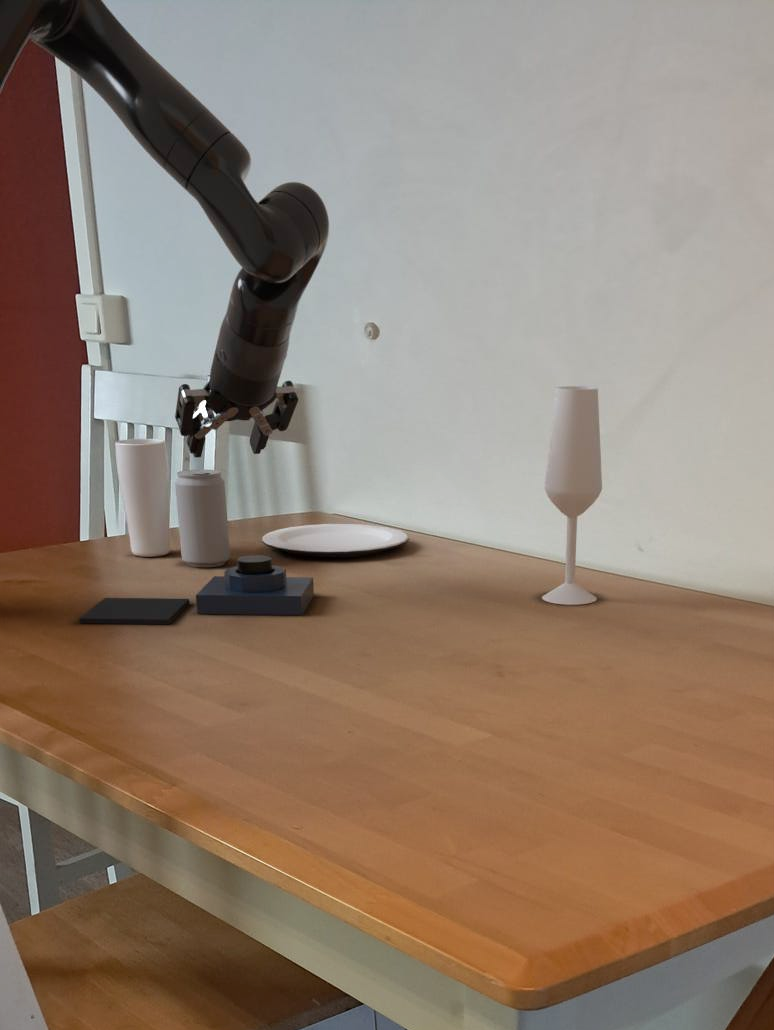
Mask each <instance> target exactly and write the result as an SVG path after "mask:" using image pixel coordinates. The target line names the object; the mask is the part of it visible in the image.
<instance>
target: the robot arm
mask: <svg viewBox="0 0 774 1030" xmlns="http://www.w3.org/2000/svg"><path fill="white" fill-rule="evenodd" d="M28 41H31V42H33V43H34V44H36V45H37V46H38V47H40V48H42V49H44V50H45V51H46V52H48V53H49V54H51V55H52V56H53V57H54V58H56V59H57V60H59V61H60V62H61V63H63V64H64V65H65V66H67V67H68V68H69V69H70V70H72V71H73V72H75V74H77V76H79V77H80V78H81V79H82V80H84V82H86V83H87V84H88V85H89V86H90V88H92V89H93V90H94V91H95V92H96V93H97V94H98V95H99V97H101V99H102V100H103V101H104V102H105V103H106V104H107V106H109V108H110V109H111V110H112V111H113V113H114V114H115V115H116V116H117V118H118V119H119V120H120V121H121V123H122V124H123V125H124V126H125V128H126V129H127V131H128V132H129V133H130V134H131V136H132V137H133V138H134V139H135V141H137V143H138V144H139V145H140V146H141V147H142V149H144V151H145V152H146V153H147V154H148V155H149V156H150V158H152V159H153V160H154V161H155V162H156V163H157V164H158V165H159V166H160V167H161V168H162V169H163V170H165V172H166V173H167V174H168V175H169V176H170V177H171V178H172V179H173V180H174V181H176V183H178V185H180V187H182V189H184V190H185V191H187V193H188V194H189V195H190V196H191V197H193V198H194V199H195V201H197V203H198V204H199V206H200V207H201V209H202V210H203V212H204V214H205V216H206V217H207V219H208V220H209V221H210V224H211V225H212V226H213V228H214V229H215V231H216V232H217V234H218V236H219V237H220V238H221V240H222V241H223V243H224V245H225V246H226V248H227V249H228V251H229V252H230V254H231V255H232V257H233V258H234V259H235V261H236V262H237V263H238V264H239V265H240V267H241V269H240V270H239V272H238V273H237V275H236V277H235V279H234V282H233V284H232V287H231V292H230V297H229V299H228V300H229V301H228V304H227V309H226V312H225V314H224V317H223V320H222V322H221V325H220V328H219V332H218V337H217V342H216V346H215V350H214V354H213V358H212V363H211V368H210V373H209V380H208V382H207V383H205V385H203V388H197V389H191V387H190V385H189V384H187V383H183V384H181V385H180V386H179V387H178V393H177V399H176V407H175V414H174V418H175V421H176V423H177V426H178V429H179V433H180V435H181V436H182V437H187V438H186V443H187V447H188V450H189V453H190V454H192V455H193V457H194V458H196V459H197V458H202V454H203V450H204V446H205V444H206V443H205V442H206V435H208V434H209V433H210V432H211V431H212V430H213V431H217V430H218V429H219V428H220V427H221V426H223V424H224V423H226V422H232V421H242V422H243V421H245V422H246V421H250V419H253V420H254V423H253V426H252V429H251V434H250V436H249V445H250V448H251V452H252V453H253V454H254V455H260V454H261V452H262V450H265V448H266V447H267V443H268V441H269V437H270V435H272V434H273V431H276V430H278V431H279V432H285V431H287V429H288V428H289V425H290V423H291V420H292V418H293V415H294V412H295V410H296V407H297V405H298V403H299V397H298V395H297V392H296V388H295V386H294V384H293V382H292V381H291V380H285V381H284V382H283V383H282V385H281V386H278V385H279V381H280V378H281V374H282V371H283V367H284V365H285V361H286V359H287V357H288V351H289V345H290V337H291V332H292V328H293V326H294V322H295V319H296V316H297V313H298V312H297V311H298V307H299V304H300V300H301V299H302V297H303V294H304V293H305V291H306V290H307V287H308V285H309V284H310V281H311V280H312V278H313V275H314V274H315V272H316V270H317V267H318V266H319V263H320V261H321V260H322V258H323V255H324V253H325V250H326V247H327V244H328V240H329V237H330V236H329V235H330V219H329V214H328V210H327V207H326V204H325V202H324V201H323V199H322V198H321V196H320V195H319V194H318V192H316V190H314V189H313V188H312V187H311V186H309V185H308V184H307V185H306V184H305V183H302V182H299V181H290V182H285V183H282V184H280V185H278V186H276V187H275V188H273V189H272V190H271V191H269V192H268V193H267V194H266V195H265V196H264V197H263V198H261V199H260V200H259V201H257V200H256V199H255V198H254V197H253V195H252V193H251V192H250V190H249V189H248V187H247V185H246V184H245V181H246V179H247V177H248V175H249V173H250V170H251V167H252V157H251V154H250V152H249V150H248V148H247V147H246V146H245V145H244V143H243V142H241V140H240V139H239V138H238V137H237V136H236V135H235V134H234V133H232V131H231V130H230V129H228V127H226V125H225V124H224V123H223V122H222V121H221V120H220V119H219V118H218V117H216V116H215V114H214V113H212V112H211V111H210V110H209V109H208V107H206V106H205V104H203V103H202V101H200V100H199V99H198V98H197V97H196V96H195V95H194V94H193V93H192V92H191V91H190V90H189V89H188V88H186V87H185V86H184V85H183V84H182V83H181V82H180V81H179V80H178V79H177V78H176V77H174V76H173V75H172V74H171V73H170V72H169V71H168V70H167V69H165V68H164V66H162V64H160V63H159V62H158V61H157V60H156V59H155V58H154V57H153V56H152V54H150V53H149V52H148V51H147V50H146V49H145V48H144V47H143V46H142V45H141V44H140V43H139V42H138V40H137V39H136V38H135V37H133V36H132V35H131V33H130V32H129V31H128V30H127V28H126V27H125V26H124V25H123V24H122V23H121V22H120V21H119V20H118V18H117V17H116V16H115V15H114V14H113V12H112V11H111V10H110V9H109V8H108V7H107V5H106V4H105V3H104V1H103V0H0V93H2V90H3V88H4V85H5V82H6V80H7V79H8V77H9V75H10V73H11V71H12V69H13V67H14V65H15V63H16V61H17V59H18V57H19V56H20V54H21V52H22V50H23V48H24V46H25V45H26V44H27V42H28ZM274 402H275V404H274V407H273V410H272V413H269V414H267V412H266V410H265V409H266V408H268V407H269V406H270V405H271V404H273V403H274Z"/></svg>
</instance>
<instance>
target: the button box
mask: <svg viewBox="0 0 774 1030" xmlns="http://www.w3.org/2000/svg"><path fill="white" fill-rule="evenodd" d="M272 571H273V572H272V573H268V574H259V575H245V574H239V573H238V567H237V566H233V567H232V566H231V567H229V568H227V569H226V570H225V571H224V572H223V573H224V574H223V575H224V576H223V575H222V576H219V575H218V576H217V575H216V576H215V575H214V576H213V577H212V578H211V579H210V580H209V581H208V582H207V583H206V584H205V585H204V586H203V587H202V588H201V589H200V590H199V591H198V592H197V593H196V594H195V604H196V614H197V615H246V616H247V615H249V616H250V615H251V616H252V615H253V616H255V615H256V616H258V615H259V616H261V615H262V616H264V615H265V616H266V615H267V616H302V615H303V614H304V613H305V611H306V609H307V608H308V606H309V604H310V603H311V601H312V599H313V597H314V596H315V589H314V577H313V576H312V577H311V576H310V577H308V576H307V577H306V576H305V577H304V576H301V577H300V576H287V569H286V568H284V567H282V566H279V565H273V564H272Z"/></svg>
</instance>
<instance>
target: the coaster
mask: <svg viewBox="0 0 774 1030" xmlns="http://www.w3.org/2000/svg"><path fill="white" fill-rule="evenodd" d="M189 605H190V598H157V597H154V598H152V597H151V598H150V597H149V598H148V597H104V598H103V599H102V600H100V601H99V602H98V603H96V605H94V606H92V607H91V608H90V609H89V610H88V611H87V612H85V613H84V614H83V615H82V616H80V617H79V620H78V621H79V624H90V625H91V624H94V625H95V624H99V625H103V624H105V625H171V623H172V622H174V620H176V618H177V617H178V616H179V615H180V614H181V613H182V612H183V611H184V610H185V609H186V608H187V607H188V606H189Z"/></svg>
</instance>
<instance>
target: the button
mask: <svg viewBox="0 0 774 1030" xmlns="http://www.w3.org/2000/svg"><path fill="white" fill-rule="evenodd" d="M236 565H237V567H238V573H239V574H245V575H259V574H268V573H272V572H273V571H272V565H273V558H272V557H270V556H268V555H245V556H240V557H238V558H237V559H236Z"/></svg>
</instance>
